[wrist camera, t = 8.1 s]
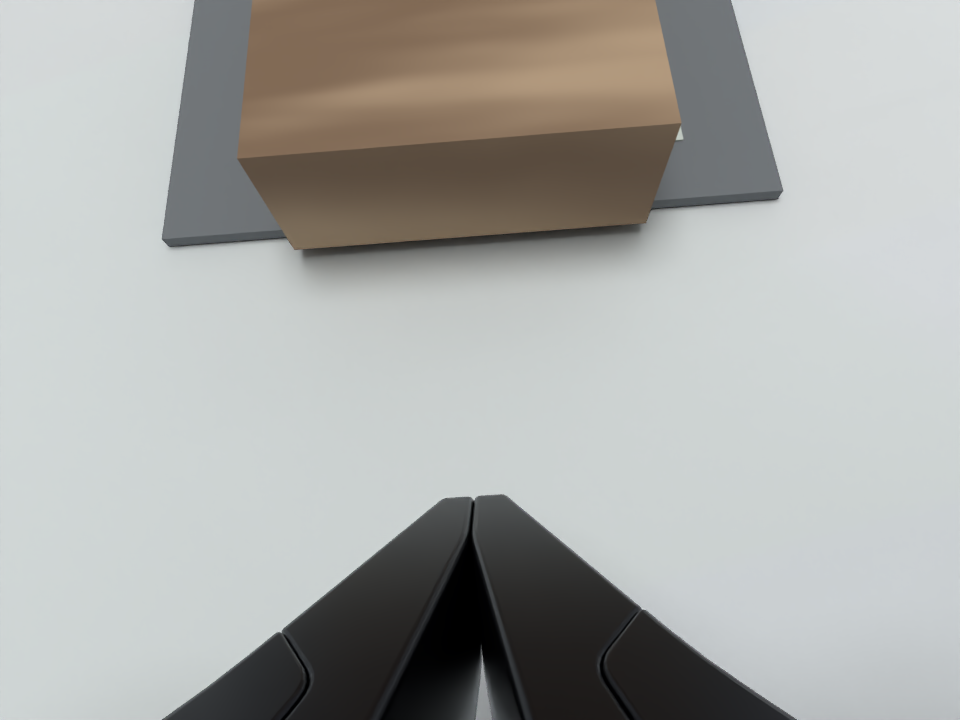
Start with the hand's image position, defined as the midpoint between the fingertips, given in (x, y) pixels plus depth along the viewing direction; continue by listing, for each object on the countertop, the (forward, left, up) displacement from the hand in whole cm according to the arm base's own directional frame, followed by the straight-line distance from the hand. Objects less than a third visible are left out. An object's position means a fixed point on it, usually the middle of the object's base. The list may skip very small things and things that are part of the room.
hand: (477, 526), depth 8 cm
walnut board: (+8, -4, -5) cm, 10 cm away
